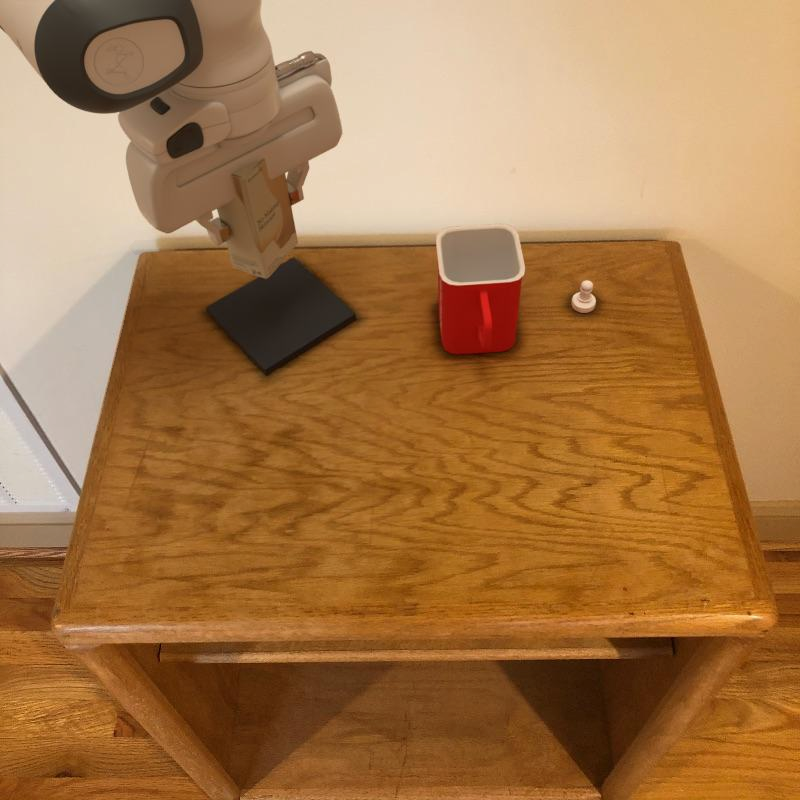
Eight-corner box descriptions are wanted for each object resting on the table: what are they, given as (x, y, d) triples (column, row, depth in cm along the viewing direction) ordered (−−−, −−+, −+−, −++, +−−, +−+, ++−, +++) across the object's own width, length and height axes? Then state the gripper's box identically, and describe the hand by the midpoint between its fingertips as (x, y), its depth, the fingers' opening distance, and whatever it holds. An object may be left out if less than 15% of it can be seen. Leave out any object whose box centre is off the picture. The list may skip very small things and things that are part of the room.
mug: (435, 301, 87) (434, 228, 79) (509, 296, 87) (516, 222, 79) (444, 386, 80) (443, 315, 72) (524, 380, 80) (533, 309, 72)
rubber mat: (266, 375, 82) (264, 370, 81) (207, 313, 88) (205, 307, 87) (356, 319, 86) (355, 313, 86) (295, 263, 92) (293, 256, 91)
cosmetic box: (268, 281, 77) (242, 180, 68) (231, 269, 79) (201, 168, 69) (301, 241, 81) (281, 139, 71) (265, 229, 82) (241, 127, 72)
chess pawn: (566, 301, 86) (570, 278, 84) (586, 293, 87) (590, 270, 84) (579, 316, 85) (584, 294, 82) (599, 308, 86) (604, 285, 83)
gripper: (305, 29, 70) (324, 159, 81) (98, 122, 63) (150, 251, 74) (347, 57, 67) (361, 188, 78) (135, 158, 60) (183, 286, 71)
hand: (257, 219), depth 76 cm, fingers closed on cosmetic box, 7 cm apart
